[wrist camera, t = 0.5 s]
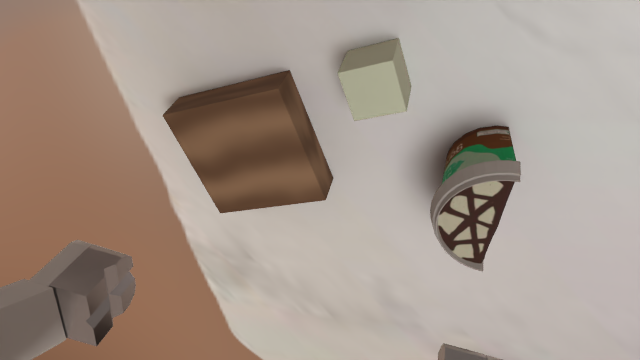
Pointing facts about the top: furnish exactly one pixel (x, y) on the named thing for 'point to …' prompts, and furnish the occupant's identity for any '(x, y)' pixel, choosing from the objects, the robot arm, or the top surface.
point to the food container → (474, 193)
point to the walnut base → (252, 144)
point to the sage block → (375, 80)
